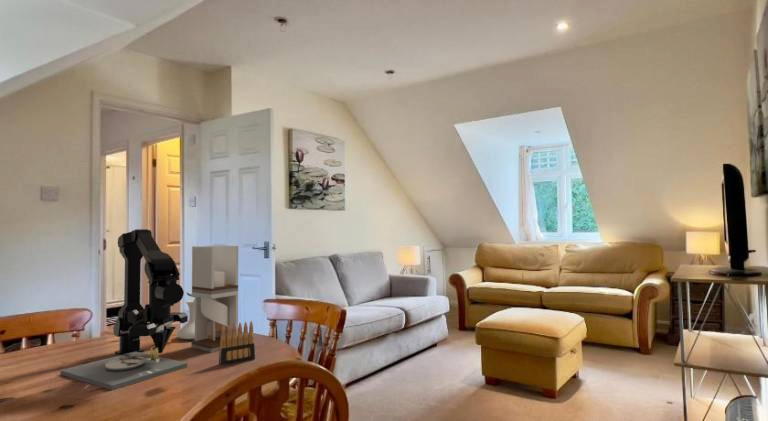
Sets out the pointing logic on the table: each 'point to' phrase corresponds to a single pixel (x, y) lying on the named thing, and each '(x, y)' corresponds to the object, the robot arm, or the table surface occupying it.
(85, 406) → the table surface
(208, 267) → the display case
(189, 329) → the flower in vase
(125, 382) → the stand base
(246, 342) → the ammunition clip
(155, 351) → the disc crank with handle
